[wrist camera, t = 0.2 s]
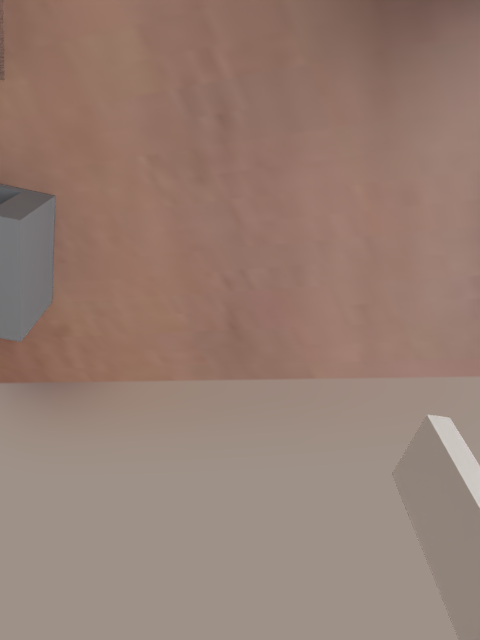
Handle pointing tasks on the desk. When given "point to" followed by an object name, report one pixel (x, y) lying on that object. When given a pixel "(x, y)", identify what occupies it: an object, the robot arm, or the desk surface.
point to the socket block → (25, 259)
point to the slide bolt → (1, 43)
